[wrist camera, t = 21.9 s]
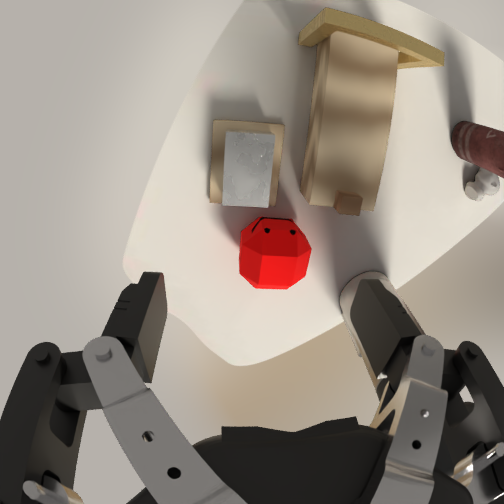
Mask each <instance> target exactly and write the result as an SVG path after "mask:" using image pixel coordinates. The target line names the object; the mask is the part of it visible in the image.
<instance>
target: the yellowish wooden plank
mask: <svg viewBox="0 0 504 504" xmlns="http://www.w3.org/2000/svg"><path fill="white" fill-rule="evenodd" d="M336 31H339V32H343V33H346V34H350V35H353V36H357V37H360V38H364V39H367V40H370V41H373V42H376V43H379V44H382V45H384V46H387V47H390V48H393V49H395V50H398V51H400V52H398V66H397V69H404V68H416V67H435V66H444V52H442V51H440V50H439V49H437V48H435V47H433V46H431V45H429V44H427V43H425V42H423V41H421V40H418V39H416V38H414V37H412V36H410V35H407V34H405V33H403V32H400V31H398V30H395V29H393V28H390V27H388V26H385V25H382V24H380V23H377V22H374V21H371V20H368V19H365V18H362V17H359V16H356V15H352V14H349V13H345V12H342V11H338V10H334V9H330V8H324V9H323V10H322V11H321V12H320V13H319V14H318V15H317V16H316V17H315V18H314V19H313V20H312V21H311V22H310V23H309V24H308V25H307V26H306V27H305V28H304V29H303V30H302V31H301V32H300V33H299V42H298V45H304V46H309V47H313V46H314V45H316V44H317V43H319V42H320V41H322V40H323V39H325V38H326V37H328V36H329V35H331V34H333V33H334V32H336Z"/></svg>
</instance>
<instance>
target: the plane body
mask: <svg viewBox="0 0 504 504" xmlns="http://www.w3.org/2000/svg"><path fill="white" fill-rule="evenodd" d="M397 66H398V50H395V49H393V48H390V47H387V46H384V45H382V44H379V43H376V42H373V41H370V40H367V39H364V38H360V37H357V36H353V35H350V34H346V33H343V32H339V31H336V32H334V33H333V34H331V35H329V36H328V37H326V38H325V39H323V40H322V41H320V42H319V43H317V54H316V65H315V75H314V85H313V94H312V103H311V111H310V120H309V128H308V136H307V144H306V151H305V159H304V166H303V173H302V180H301V187H300V192H301V193H302V195H303V196H304V197H305V199H306V200H307V202H308V203H309V205H318V206H329V207H334V208H335V209H336V211H337V212H338V213H339V214H346V215H356V216H359V214H360V210H366V211H373V210H374V206H375V202H376V198H377V193H378V189H379V185H380V180H381V175H382V170H383V165H384V160H385V155H386V150H387V144H388V138H389V132H390V126H391V119H392V112H393V104H394V96H395V87H396V77H397Z"/></svg>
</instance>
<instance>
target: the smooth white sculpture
mask: <svg viewBox="0 0 504 504" xmlns="http://www.w3.org/2000/svg"><path fill="white" fill-rule="evenodd" d="M499 188H500V181H499V178H498V175H496V174H494V173H492V172H490V171H488V170H486V169H484V168H482V167H480V170H479V171H478V173H477V174H476V175H475V182H468V183H467V184H466V187H465V194H466V196H467V197H468V198H470V199H472V200H475V201H481V200H482V199H483V196H484V195H489V196H493V195H495V194H496V193H497V192H498V190H499Z"/></svg>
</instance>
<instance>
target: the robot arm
mask: <svg viewBox="0 0 504 504" xmlns="http://www.w3.org/2000/svg"><path fill="white" fill-rule="evenodd" d="M340 307H341V309H342V311H343V313H342V317H343V319H344V322H345V324H346V326H347V328H348V331H349V334H350V335H351V338H352V341H353V343H354V346H355V348H356V350H357V353H358V355H359V356H360V357H362V358H363V360H364V363H365V365H366V367H367V370H368V372H369V375H370V377H371V380H372V382H373V385H374V387H375V390H376V393H377V395H378V398H379V401H380V403H379V406H378V408H377V411H376V414H375V416H374V419H373V421H372V423H371V424H370V426H364V425H358V422H357V418H356V417H350V418H345V419H337V420H331V421H325V422H322V423H320V424H317V425H314V426H312V427H309V428H306V429H303V430H300V431H297V432H287V431H280V430H274V429H268V428H262V427H224V426H222V435H217V436H213V437H210V438H207V439H204V440H202V441H199V442H198V443H196V444H194V445H191V444H190V443H189V442H188V440H187V439H186V438H185V436H184V435H183V434H182V433H181V431H180V430H179V429H178V427H177V426H176V424H175V423H174V422H173V420H172V419H171V417H170V416H169V415H168V413H167V412H166V410H165V409H164V408H163V406H162V405H161V403H160V402H159V400H158V399H157V397H156V396H155V394H154V393H153V391H152V390H151V389H150V388H147V387H146V385H145V384H144V382H145V383H152V377H153V373H154V368H155V364H156V360H157V355H158V351H159V347H160V342H161V338H162V334H163V330H164V326H165V322H166V318H167V299H166V291H165V283H164V275H163V273H161V272H143V274H142V276H141V278H140V280H139V283H138V284H130V285H129V286H127V287H126V288H125V289H124V290H123V291H122V292H121V294H120V297H119V299H118V302H117V303H116V305H115V307H114V309H113V311H112V313H111V315H110V318H109V320H108V322H107V324H106V326H105V329H104V331H103V333H102V336H101V337H98V338H95V339H93V340H91V341H90V342H89V343H88V344H87V345H86V346H85V348H84V350H83V351H78V352H68V353H61V351H60V350H59V348H58V347H57V346H56V345H55V344H53V343H50V342H43V343H40V344H37V345H35V346H34V347H33V348H32V349H31V350H30V351H29V352H28V354H27V356H26V359H25V361H24V363H23V365H22V367H21V369H20V371H19V374H18V376H17V378H16V380H15V383H14V385H13V387H12V390H11V393H10V395H9V397H8V400H7V403H6V405H5V408H4V411H3V413H2V416H1V419H0V504H84V503H83V501H82V499H81V497H80V496H79V495H78V494H77V493H76V492H74V491H73V484H74V477H75V470H76V464H77V458H78V453H79V447H80V442H81V437H82V432H83V427H84V423H85V418H86V414H87V410H93V409H102V410H103V412H104V414H105V417H106V419H107V421H108V423H109V425H110V427H111V429H112V431H113V433H114V434H115V436H116V438H117V440H118V442H119V444H120V446H121V447H122V449H123V451H124V453H125V454H126V456H127V457H128V459H129V461H130V463H131V464H132V466H133V467H134V469H135V471H136V472H137V474H138V475H139V477H140V478H141V480H142V481H143V483H144V484H145V486H146V487H145V488H144V489H143V490H142V491H141V492H140V493H138V494H137V495H136V496H135V497H134V498H133V499H131V500H130V501H129V502H128V503H127V504H504V387H503V385H502V383H501V382H500V380H499V378H498V376H497V374H496V373H495V371H494V369H493V368H492V366H491V364H490V363H489V361H488V359H487V358H486V356H485V355H484V353H483V352H482V350H481V349H480V348H479V346H477V345H476V344H474V343H472V342H470V341H464V342H462V343H461V344H460V345H459V347H458V348H457V350H448V349H443V346H442V345H441V344H440V342H439V341H438V340H436V339H435V338H433V337H431V336H428V335H426V334H425V333H424V331H423V329H422V328H421V326H420V325H419V323H418V322H417V320H416V319H415V317H414V316H413V314H412V313H411V311H410V310H409V308H408V307H407V305H406V304H405V302H404V301H403V299H402V298H401V296H400V295H399V294H398V292H397V291H396V289H395V288H394V287H393V285H392V284H391V282H390V281H389V280H388V278H387V277H386V276H385V275H384V274H382V273H380V272H375V271H372V272H366V273H362V274H360V275H358V276H356V277H355V278H353V279H352V280H351V281H350V282H349V283H348V284H347V285H346V286H345V287H344V289H343V291H342V293H341V296H340ZM465 385H466V386H467V388H468V390H469V392H470V394H471V396H472V398H473V401H474V403H472V402H463V400H462V398H461V396H460V394H459V392H460V391H461V390H462V389H463V388H464V386H465Z"/></svg>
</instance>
